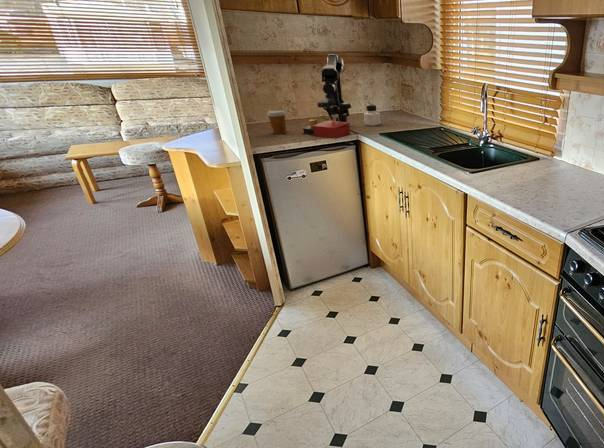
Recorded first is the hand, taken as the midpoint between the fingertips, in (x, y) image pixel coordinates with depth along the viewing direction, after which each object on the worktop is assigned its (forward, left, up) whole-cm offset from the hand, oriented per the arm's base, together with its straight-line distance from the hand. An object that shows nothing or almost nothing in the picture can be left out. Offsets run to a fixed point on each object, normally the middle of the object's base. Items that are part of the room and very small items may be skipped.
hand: (336, 120), depth 230 cm
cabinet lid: (+5, 0, -2) cm, 5 cm away
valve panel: (+4, -13, -7) cm, 15 cm away
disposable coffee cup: (+13, -30, -7) cm, 33 cm away
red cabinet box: (+5, 0, -7) cm, 9 cm away
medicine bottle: (-29, +4, -7) cm, 30 cm away
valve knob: (+4, -13, -4) cm, 14 cm away
